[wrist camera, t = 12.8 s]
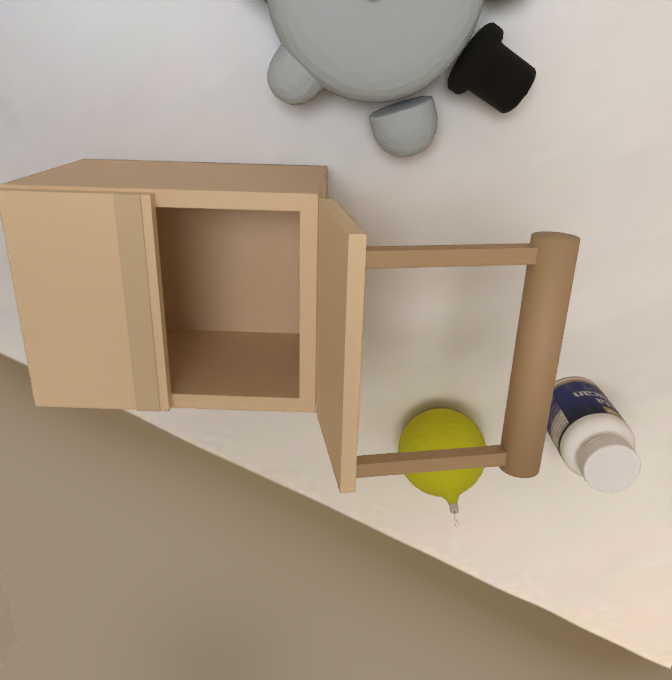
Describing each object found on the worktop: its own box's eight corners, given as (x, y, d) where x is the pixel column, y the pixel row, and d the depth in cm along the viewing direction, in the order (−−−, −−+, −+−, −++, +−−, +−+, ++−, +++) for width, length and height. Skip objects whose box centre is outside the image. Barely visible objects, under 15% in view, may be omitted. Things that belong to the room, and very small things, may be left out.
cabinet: (106, 333, 52) (32, 409, 40) (84, 158, 47) (-8, 186, 35) (323, 341, 52) (313, 419, 40) (326, 166, 46) (317, 196, 35)
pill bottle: (610, 379, 53) (662, 441, 44) (592, 434, 55) (638, 505, 46) (546, 371, 52) (585, 432, 43) (530, 427, 54) (565, 496, 45)
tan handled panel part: (319, 198, 35) (506, 197, 37) (316, 412, 40) (480, 401, 42) (351, 237, 27) (591, 233, 29) (342, 500, 32) (545, 482, 34)
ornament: (436, 477, 57) (451, 555, 48) (379, 431, 55) (383, 503, 46) (495, 427, 55) (523, 498, 45) (437, 377, 53) (454, 441, 44)
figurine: (194, 37, 43) (429, 189, 49) (172, 38, 35) (454, 218, 41) (327, -239, 37) (577, -30, 43) (335, -309, 30) (639, -44, 35)
